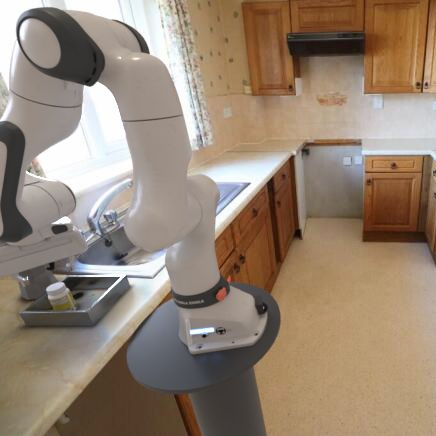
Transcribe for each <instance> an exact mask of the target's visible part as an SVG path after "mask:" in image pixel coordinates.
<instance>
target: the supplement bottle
mask: <svg viewBox="0 0 436 436" xmlns="http://www.w3.org/2000/svg"><path fill="white" fill-rule="evenodd" d="M46 291H47V294H48V299H49V301H50V303H51V305H52V307H51V308H52V309H53V311H54V310H77V309H78V304H77V303H76V301H75V299H73V295H72V291H70V290H69V289H68V288H66V286H65V284H64V283H63V282H60V281H59V283H55V284H52V285H50V286H49V287H47V289H46Z"/></svg>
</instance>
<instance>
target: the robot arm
mask: <svg viewBox="0 0 436 436" xmlns="http://www.w3.org/2000/svg"><path fill="white" fill-rule="evenodd" d="M15 36H16V37H15V38H16V39H15V40H14V45H13V48H12V52H11V57H10V63H9V74H8V98H7V102H6V106H5V109H4V111H3V113H2V115H1V117H0V279H2V278H6V277H9V276H10V278H11V279H12V280H14V281H16V282H17V283H18V282H21V284H22V286H23V287H26V286H29V285H31V283H30V281H29V279H28V277H25V278H23V277H21V276H19V272H22V271H25V270H28V269H32V268H35V267H38V266H41V265H44V264H45V265H47V264H48V263H51V262H54V263H55V262H56V261H57V262H58V261H61V260H64V259H67V258H68V260H69V262H68V263H66V264H65V267H66V269H67V272H69V273H70V272H73V271H76V268H75V261H76V259H77V258H76V255H79V254H83V253H85V252H87V251H88V250H89V245H88V243H87V241H86V239H85V237H84V235H83V234H82V232H81V231H80V229H79V228H78V227H77V226H75V225H74V224H73V221H72V219H70V217H68V216H70V215H71V214H72V213H74V212H75V211H76V207H77V197H76V196H75V193H74V191H73V189H72V188H71V187H70V186H69V185H67V184H66V183H65V182H62V181H60V180H58V179H54V178H50V179H49V178H45V177H41V176H36V175H35V174H32V173H30V172H28V168H29V166H30V165H31V164H32V162H33V161H34V160H35V159H36V158H38V156H39V155H42V153H44V152H45V151H47V150H48V149H50V148H51V147H53V146H56V145H57V144H59V143H61V142H63V141H65V140H67V139H68V138H70V137H71V136H73V135H74V134H75V133H76V132H77V130H78V129H79V126H80V125H81V122H82V118H83V111H84V97H85V96H84V94H85V93H84V92H85V87H87V88H92V87H93V86H95V85H96V84H98V85H101V86H102V87H104V88H105V89H106V90H107V91H108V92H109V93H110V95H111V97H112V98H113V100H114V103H115V106H116V110H117V113H118V117H119V120H120V124H121V126H122V130H123V133H124V137H125V140H126V143H127V147H128V150H129V151H128V152H129V154H130V159H131V163H132V173H133V174H132V192H131V199H130V203H129V206H128V209H127V211H126V212H125V215H124V217H123V221H122V225H123V227H122V228H123V230H124V233H125V236H126V237H127V239H128V240H129V241H130V243H132V244H133V245H134V246H135V247H137V249H138V248H139V249H140V250H142V251H145V252H149V253H159V252H162V251H164V250H165V249H167V250H166V252H165V256H164V265H165V268H166V272H167V274H168V278H169V282H170V285H171V286H170V291H171V295H172V298H173V300H174V303H175V304H176V305H177V308H178V314H179V338H180V340H181V341H182V342H183V343H184V344H185V345H187V346H188V349H189V352H190V353H191V354H201V353H207V352H214V351H220V350H227V349H233V348H240V347H246V346H252V345H254V344H255V343H256V342H257V341H258V340H259V339H260V338H261V336H262V334H263V333H264V330H265V328H266V324H267V319H268V314H267V309H268V306H267V304H266V303H264V302H262V296H261V295H258V296H254V298H253V296H252V295H250V294H248V293H245V292H243V291H241V290H239V289H237V288H234V287H232V286H230V285H229V283H230V282H231V280H232V278H231V275H228V277H227V279H226V278H225V277H224V275H223V274H222V273H221V272H220V268H219V264H218V258H217V254H216V253H217V252H216V220H217V219H216V218H217V209H218V206H219V202H220V199H221V191H220V188H219V185H218V184H217V182H215V180H214V179H212V178H211V177H210V176H207V175H205V174H202V173H193V174H188V169H189V165H190V162H191V159H192V155H193V149H192V145H191V140H190V136H189V133H188V128H187V124H186V123H187V122H186V119H185V114H184V111H183V107H182V103H181V101H180V97H179V94H178V91H177V88H176V86H175V83H174V80H173V78H172V75H171V73H170V71H169V69H168V67H167V65H166V64H165V63H164V62H163V61H162V60H161V59H160V58H159V57H157V56H154V55H153V54H151V53H150V48H149V45H148V42H147V41H146V39H145V37H144V36H143V35H142V34H141V33H140V32H139V31H138V30H137V29H135V28H134V27H133V26H132V25H129V24H128V23H126V22H123V21H121V20H119V19H111V18H108V17H104V16H100V15H96V14H94V13H91V12H88V11H81V10H73V9H61V8H58V7H53V6H43V7H42V6H41V7H35V8H30V9H27V10H25V11H23V12H22V13H21V14H20V15H19V17H18V18H17V20H16V26H15ZM48 265H49V264H48ZM256 335H257V336H256Z"/></svg>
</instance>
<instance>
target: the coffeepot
mask: <svg viewBox="0 0 436 436" xmlns="http://www.w3.org/2000/svg"><path fill="white" fill-rule="evenodd" d="M48 266H49V267H47V266H46V264H44V265H41V266H38V267H35V268H32V269H28V270H25V271H22V272H19V276H21V277H23V278H25V277H28V279H29V281H30V283H31V285H29V286H26V287H23V286H22V284H21V282H18V281H17V283H18V286H19V291H20V295H21V298H23V299H25V300H27V301H35V300H36V299H37V298H39V297H40V296H41V295H43V294H44V293H45V292H47V291H46V289H47V287H49V286H50V285H52V284H55V283H58V282H60V280H59V279H58V278H57V277H56V276H55V275H54V273H53V272H52V271H54V270H56V266H55V261H54V262H51V263H48Z"/></svg>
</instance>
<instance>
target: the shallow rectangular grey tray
mask: <svg viewBox="0 0 436 436" xmlns="http://www.w3.org/2000/svg"><path fill="white" fill-rule="evenodd" d="M59 282H63V283H64V284H65V286H66V288H68V289H69V290H70V292H72V291H73V290H96V289H97V290H98V289H99V290H101V289H103V290H104V289H107V290H106V291H105V292H104V293H103V294H102V295H100V296H99V298H97V299H96V300H95V302H93V303H92V304H91V305H90V306H89V307H88V308H87V309H76V310H54V309H53V310H50V309H51V308H53V307H52V305H51V303H50V301H49V299H48V294H47V292H45V293H44V294H43V295H41V296H40V297H39V298H37V299H34V300H32V302H31V303H29V304H28V305H27V306H25V307H24V308H23V309H22V310H20V311H19V312H18V314H19V316H20V318H21V320H22V321H23V324H24V325H25V326H26V327H58V326H59V327H60V326H64V327H68V326H72V327H73V326H74V327H75V326H95V325H96V324H97V322H99V321H100V319H101V318H103V316H104V315H105V314H106V313H107V312H108V311H109V310H110V309H111V308H112V307H113V306H114V305H115V303H116V302H118V300H119V299H120V298H122V296H123V295H124V294H125V293H126V292H127V291H128V290H129V289H130V288H131V283H130V281H129V279H128V276H127V274H88V275H87V274H84V275H82V274H81V275H79V274H78V275H66V276H65V277H64V278H62V279H61V280H59ZM59 282H58V283H59ZM72 296H73V299H74V300H78V299H81V298H83V296H84V292H77V293H74V294H73V295H72Z"/></svg>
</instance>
